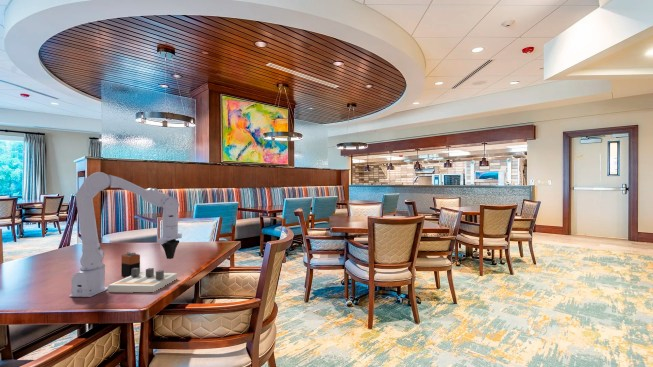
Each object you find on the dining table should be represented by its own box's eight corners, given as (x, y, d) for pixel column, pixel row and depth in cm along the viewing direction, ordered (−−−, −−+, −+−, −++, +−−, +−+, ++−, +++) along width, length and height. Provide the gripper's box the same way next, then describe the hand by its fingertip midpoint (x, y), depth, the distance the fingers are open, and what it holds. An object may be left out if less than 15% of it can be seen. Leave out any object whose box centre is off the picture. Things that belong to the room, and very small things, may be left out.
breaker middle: (150, 276, 119) (150, 269, 119) (145, 276, 119) (145, 269, 119) (153, 275, 121) (153, 268, 121) (148, 275, 121) (148, 268, 121)
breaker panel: (153, 292, 109) (153, 285, 109) (108, 292, 110) (108, 284, 110) (177, 279, 125) (177, 272, 125) (137, 278, 126) (137, 272, 126)
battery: (130, 278, 126) (130, 254, 126) (120, 275, 129) (120, 252, 130) (140, 275, 130) (140, 252, 130) (131, 273, 133) (131, 250, 133)
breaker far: (136, 276, 119) (136, 269, 119) (131, 276, 120) (131, 269, 120) (139, 274, 121) (139, 267, 121) (134, 274, 122) (134, 267, 122)
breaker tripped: (160, 279, 116) (160, 271, 116) (155, 279, 116) (155, 271, 116) (163, 277, 118) (163, 270, 118) (158, 277, 118) (158, 270, 118)
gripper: (169, 228, 117) (169, 263, 117) (188, 223, 131) (188, 254, 131) (152, 228, 117) (152, 262, 117) (172, 223, 132) (172, 254, 131)
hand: (170, 258), depth 124 cm, fingers closed
